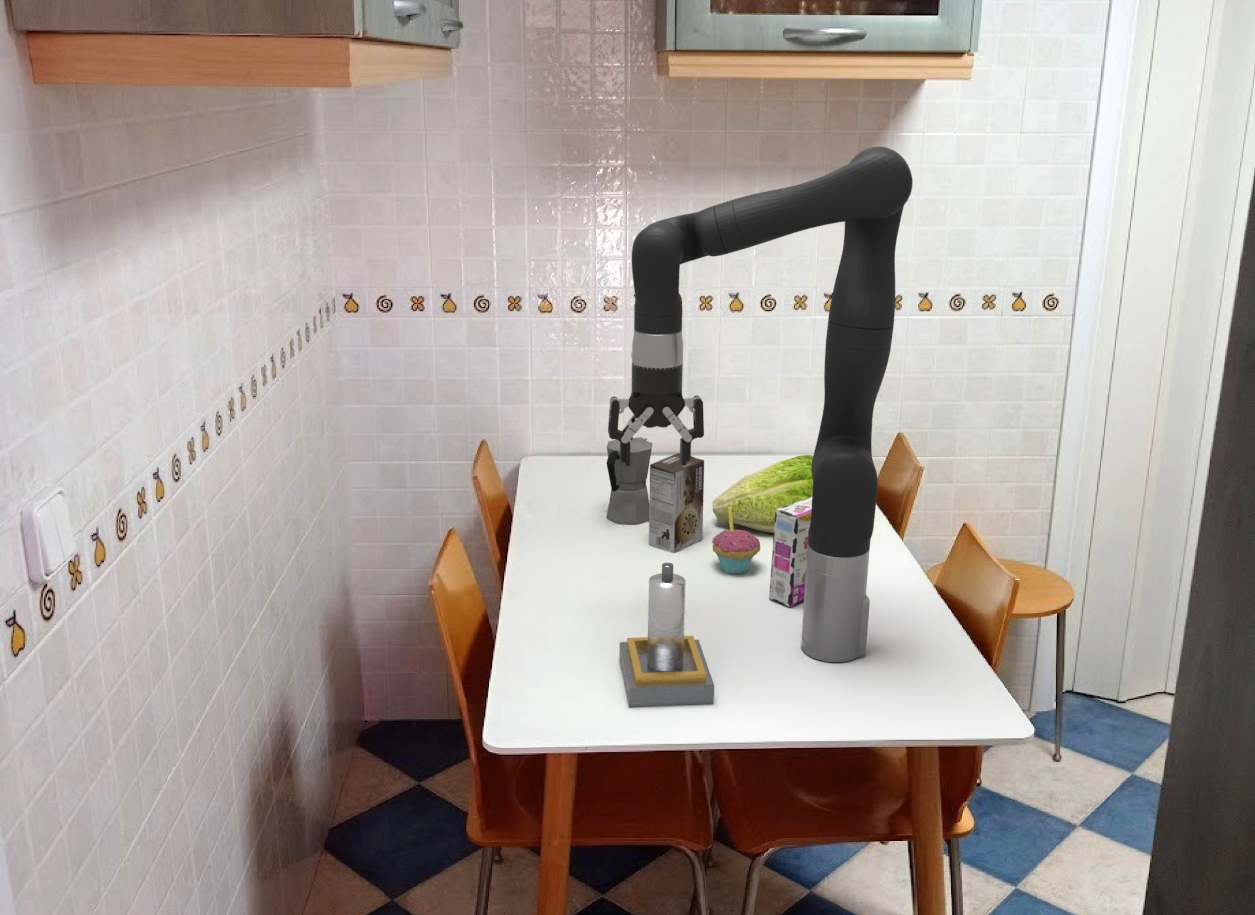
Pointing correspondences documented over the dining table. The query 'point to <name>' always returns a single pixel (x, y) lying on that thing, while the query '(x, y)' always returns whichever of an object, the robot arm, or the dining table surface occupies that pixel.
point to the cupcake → (735, 548)
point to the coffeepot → (629, 482)
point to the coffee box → (676, 503)
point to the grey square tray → (665, 676)
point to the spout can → (666, 620)
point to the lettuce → (766, 493)
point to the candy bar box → (790, 553)
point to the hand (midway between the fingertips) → (655, 464)
